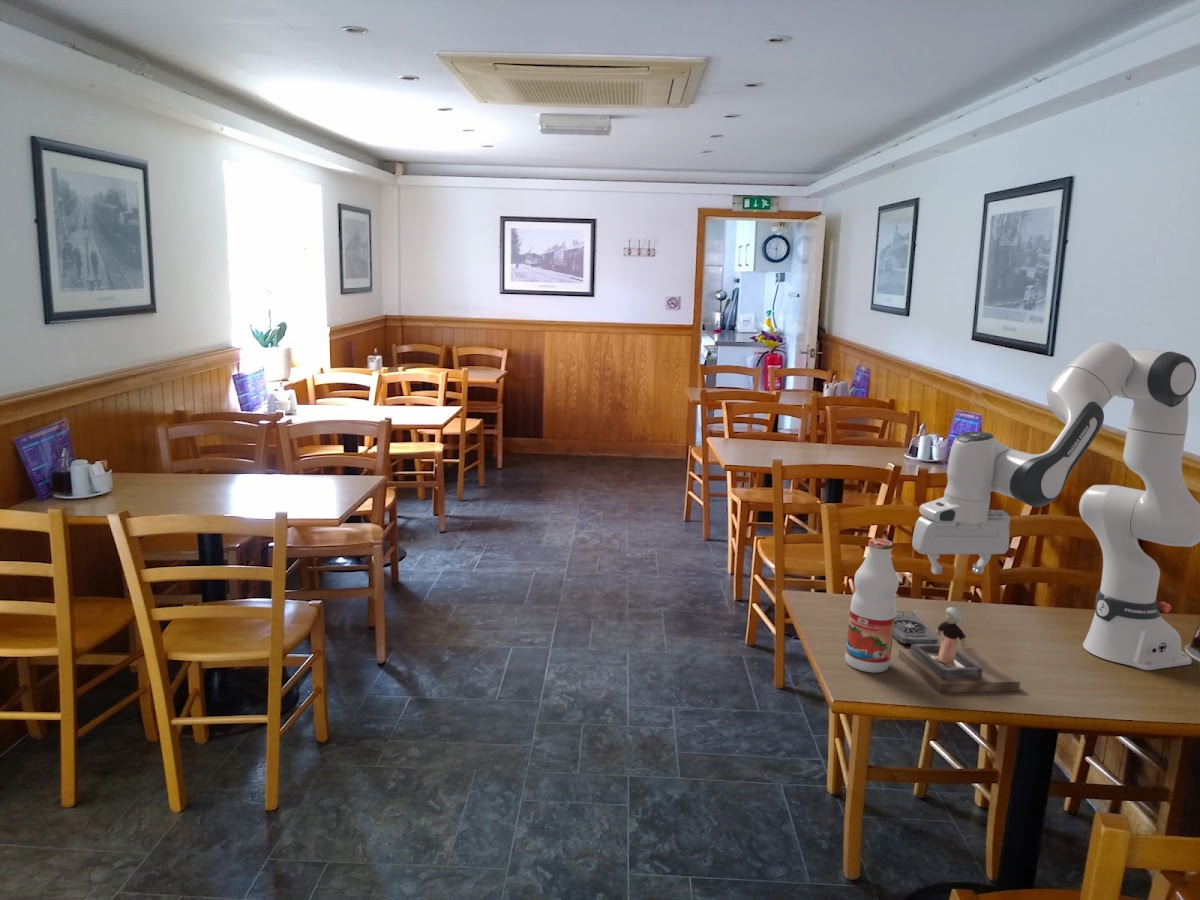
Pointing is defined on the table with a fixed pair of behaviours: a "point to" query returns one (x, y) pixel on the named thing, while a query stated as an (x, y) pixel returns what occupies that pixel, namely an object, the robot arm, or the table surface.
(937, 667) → the display stand
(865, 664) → the fruit juice
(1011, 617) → the table surface
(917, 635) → the graphics card
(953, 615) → the grandmother figurine
